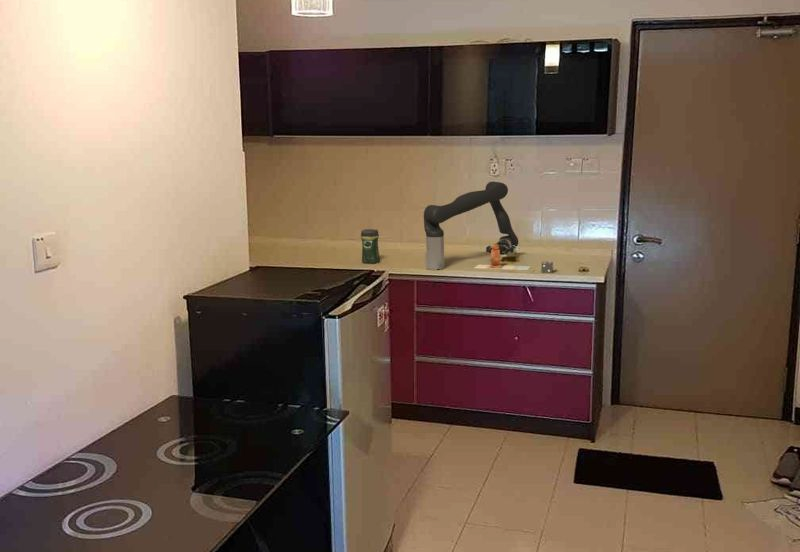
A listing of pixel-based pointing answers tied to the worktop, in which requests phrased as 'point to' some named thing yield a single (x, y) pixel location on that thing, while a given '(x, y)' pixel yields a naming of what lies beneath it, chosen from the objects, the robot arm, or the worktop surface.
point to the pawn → (495, 256)
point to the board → (504, 267)
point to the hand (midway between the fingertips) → (497, 251)
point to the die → (547, 267)
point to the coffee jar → (370, 246)
